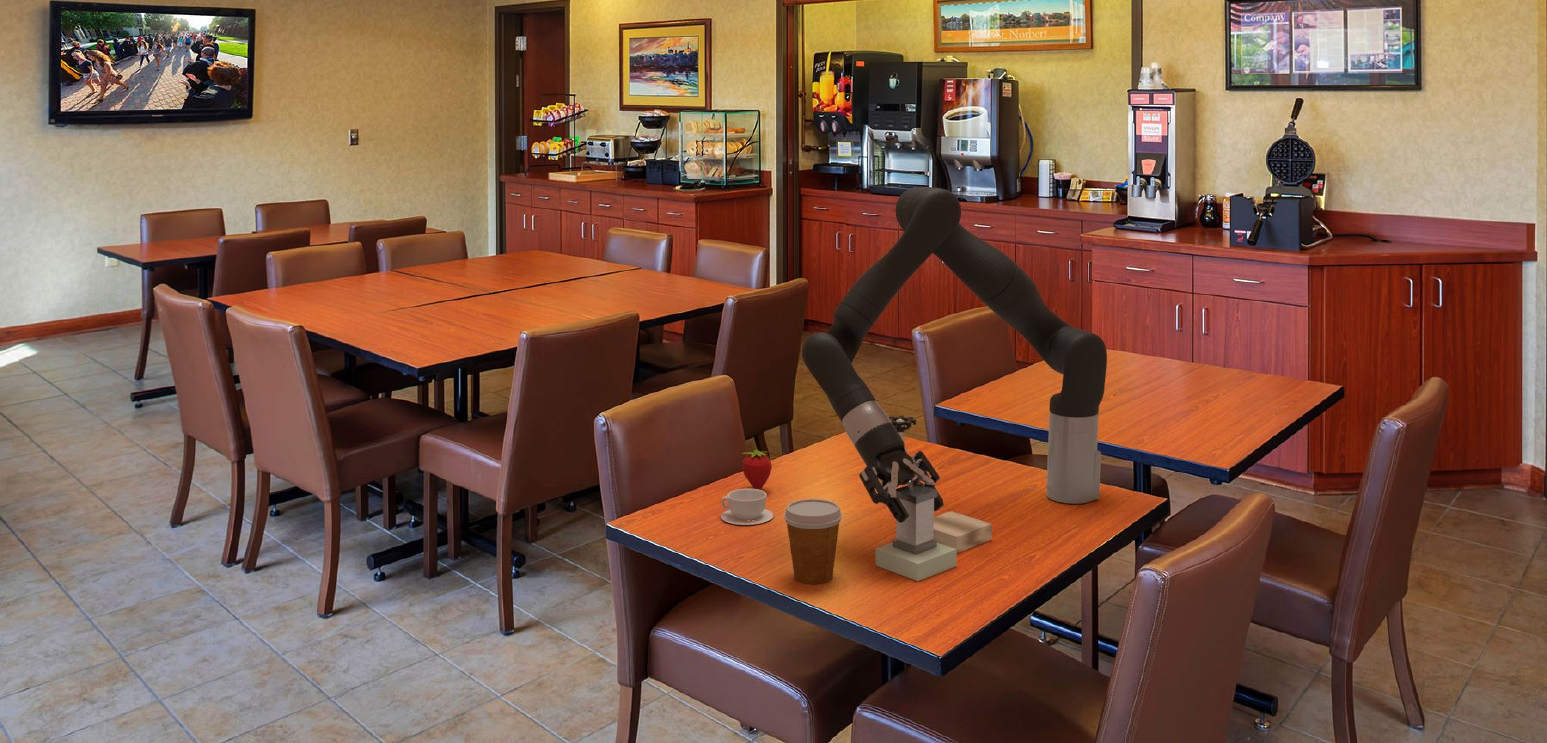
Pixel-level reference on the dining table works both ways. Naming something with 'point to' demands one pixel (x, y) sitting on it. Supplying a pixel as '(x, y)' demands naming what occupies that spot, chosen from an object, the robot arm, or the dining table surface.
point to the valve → (902, 425)
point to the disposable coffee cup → (813, 538)
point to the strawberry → (756, 468)
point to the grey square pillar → (916, 519)
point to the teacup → (746, 507)
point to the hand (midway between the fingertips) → (922, 514)
